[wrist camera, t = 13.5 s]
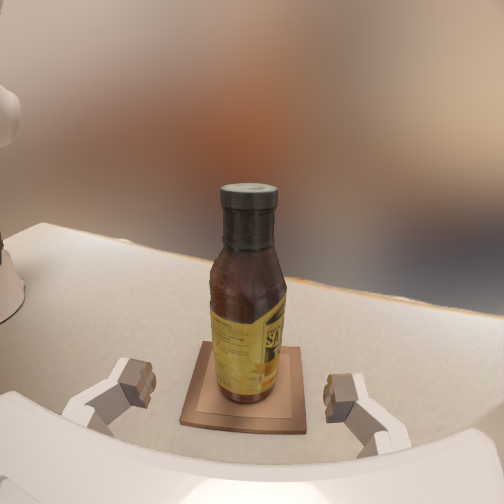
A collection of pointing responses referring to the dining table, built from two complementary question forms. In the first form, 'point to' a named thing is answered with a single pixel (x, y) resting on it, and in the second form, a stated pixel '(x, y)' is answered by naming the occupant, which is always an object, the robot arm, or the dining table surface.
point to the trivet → (247, 414)
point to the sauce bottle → (247, 294)
